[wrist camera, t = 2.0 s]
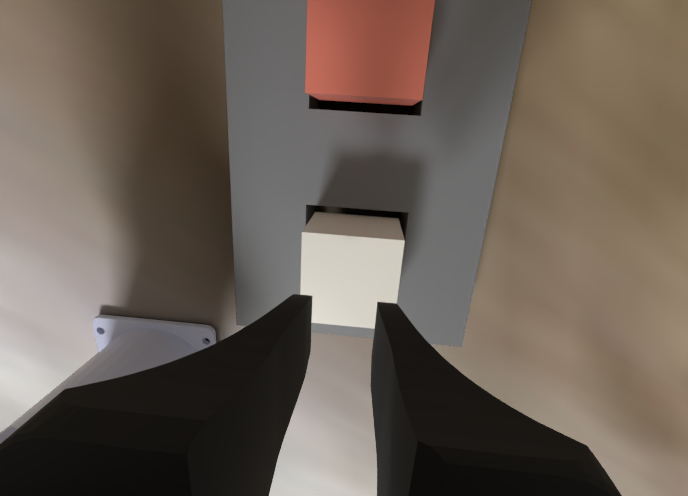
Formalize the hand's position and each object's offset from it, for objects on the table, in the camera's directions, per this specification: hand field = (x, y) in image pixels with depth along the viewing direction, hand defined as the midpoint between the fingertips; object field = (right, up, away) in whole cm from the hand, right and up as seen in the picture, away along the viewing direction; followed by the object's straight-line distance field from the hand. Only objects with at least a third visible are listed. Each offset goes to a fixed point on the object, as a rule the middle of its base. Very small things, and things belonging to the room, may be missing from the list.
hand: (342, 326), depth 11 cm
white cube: (0, +2, +6) cm, 7 cm away
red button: (+1, +11, +3) cm, 11 cm away
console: (+1, +7, +7) cm, 10 cm away
